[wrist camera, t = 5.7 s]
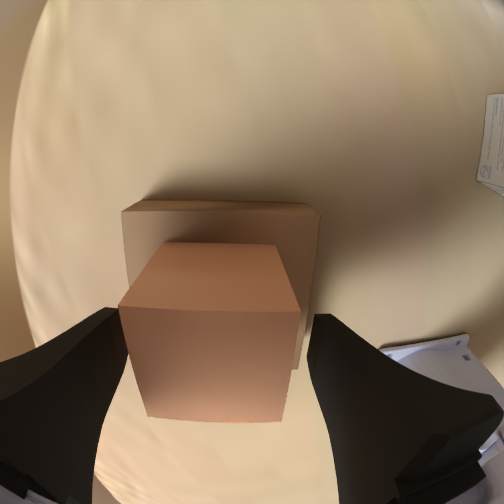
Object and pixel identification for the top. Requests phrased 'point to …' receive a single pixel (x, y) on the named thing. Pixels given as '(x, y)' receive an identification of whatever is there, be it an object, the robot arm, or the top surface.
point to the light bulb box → (493, 145)
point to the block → (212, 332)
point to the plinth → (228, 236)
